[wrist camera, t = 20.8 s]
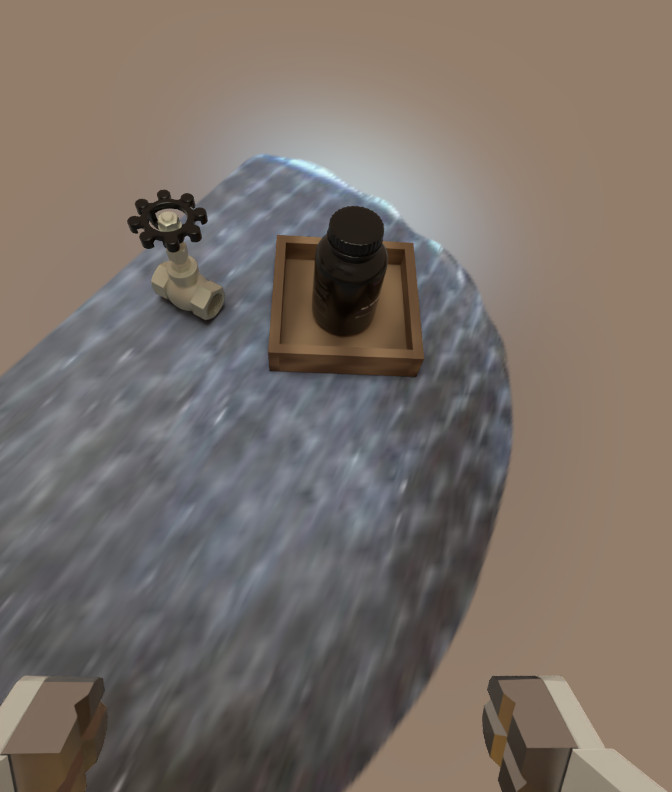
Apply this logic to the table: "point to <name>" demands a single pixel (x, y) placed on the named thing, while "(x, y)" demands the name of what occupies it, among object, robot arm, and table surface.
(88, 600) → the table surface
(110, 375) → the table surface
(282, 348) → the walnut tray
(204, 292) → the valve
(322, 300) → the supplement bottle
